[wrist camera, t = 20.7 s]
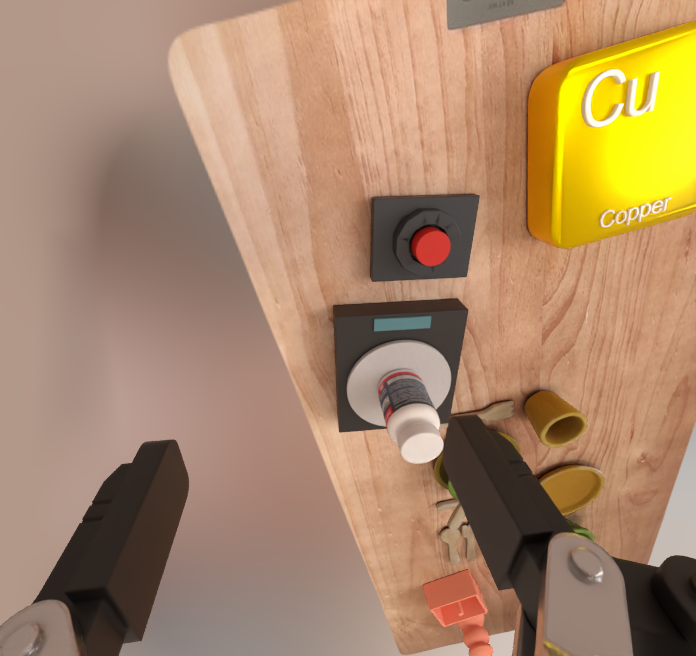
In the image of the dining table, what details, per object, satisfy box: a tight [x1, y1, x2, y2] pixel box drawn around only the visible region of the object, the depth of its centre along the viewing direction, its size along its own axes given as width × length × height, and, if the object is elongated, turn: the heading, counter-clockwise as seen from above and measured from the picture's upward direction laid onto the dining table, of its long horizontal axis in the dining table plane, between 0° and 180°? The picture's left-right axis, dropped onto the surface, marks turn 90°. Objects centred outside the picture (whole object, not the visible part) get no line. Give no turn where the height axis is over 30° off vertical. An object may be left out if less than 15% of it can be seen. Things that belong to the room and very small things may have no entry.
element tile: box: [528, 20, 696, 249], centre depth 30 cm, size 15×15×5 cm
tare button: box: [411, 227, 451, 266], centre depth 31 cm, size 3×3×2 cm
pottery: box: [424, 569, 493, 656], centre depth 68 cm, size 18×10×10 cm, turn 25°
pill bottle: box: [377, 369, 443, 464], centre depth 35 cm, size 5×5×9 cm
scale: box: [333, 299, 468, 432], centre depth 40 cm, size 14×16×4 cm
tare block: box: [370, 194, 480, 282], centre depth 33 cm, size 10×8×3 cm
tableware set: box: [434, 391, 605, 565], centre depth 53 cm, size 41×28×6 cm
